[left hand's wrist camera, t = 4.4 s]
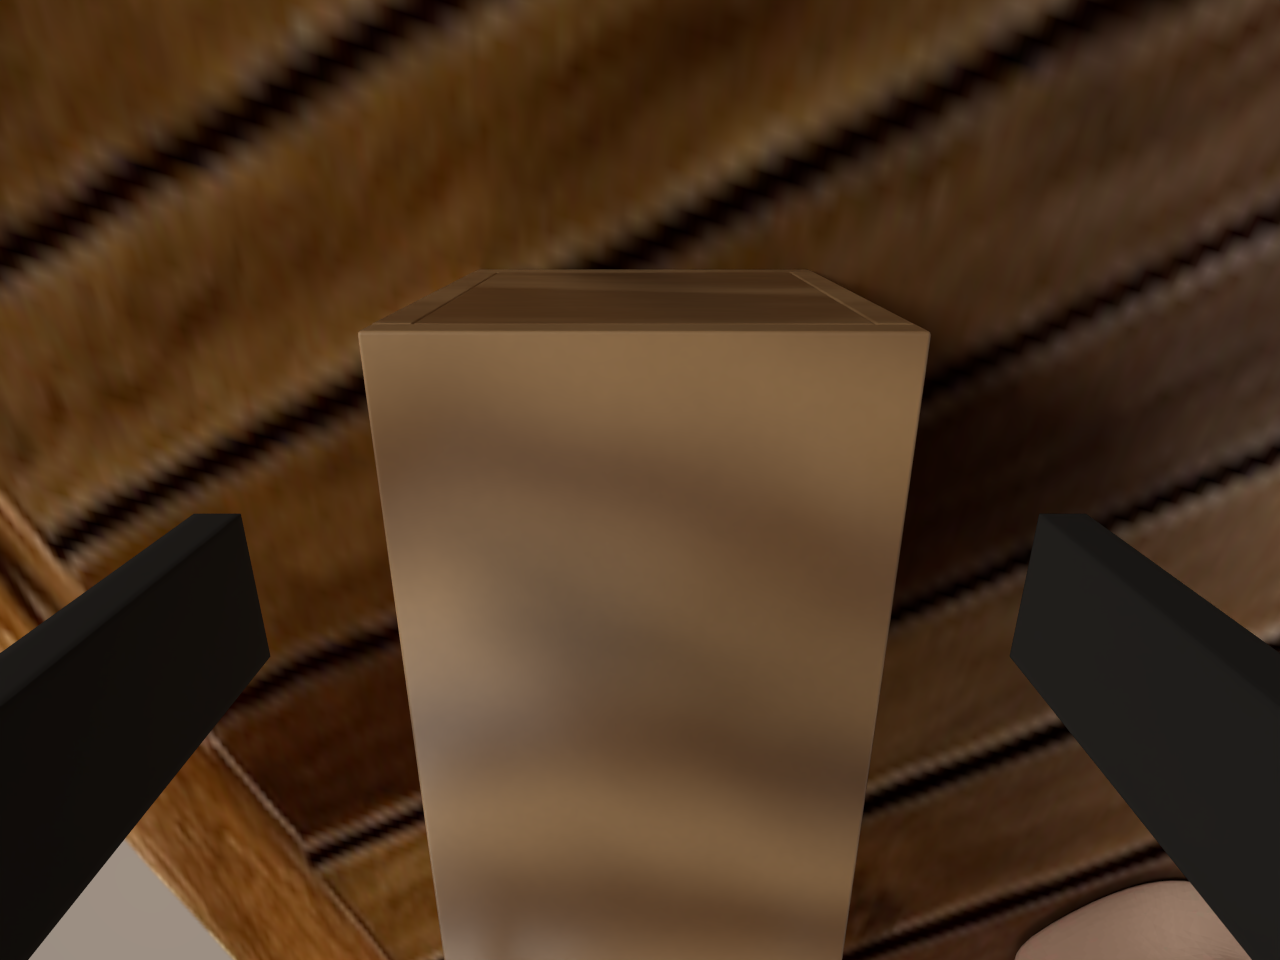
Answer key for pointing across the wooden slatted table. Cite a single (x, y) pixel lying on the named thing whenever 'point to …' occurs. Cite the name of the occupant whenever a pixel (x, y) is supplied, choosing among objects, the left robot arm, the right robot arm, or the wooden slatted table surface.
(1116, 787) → the left robot arm
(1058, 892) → the wooden slatted table surface
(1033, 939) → the anatomical model
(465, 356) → the cabinet
